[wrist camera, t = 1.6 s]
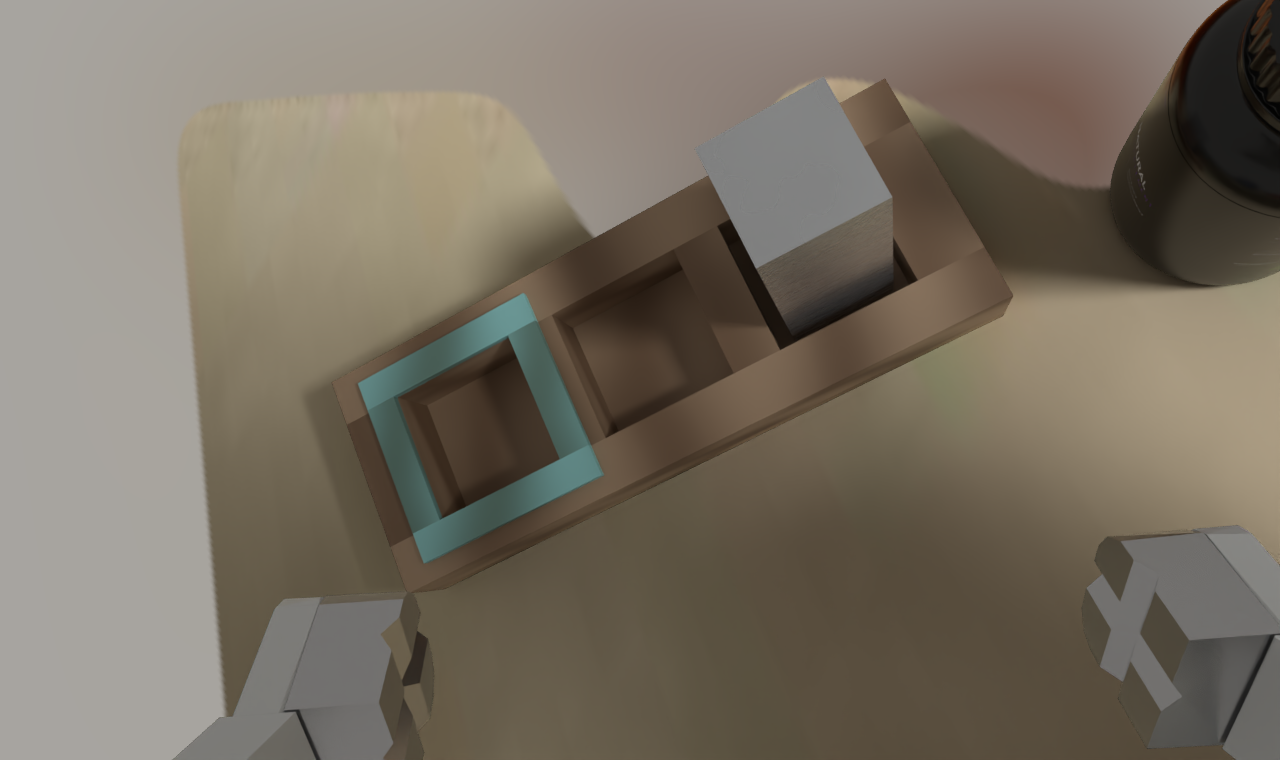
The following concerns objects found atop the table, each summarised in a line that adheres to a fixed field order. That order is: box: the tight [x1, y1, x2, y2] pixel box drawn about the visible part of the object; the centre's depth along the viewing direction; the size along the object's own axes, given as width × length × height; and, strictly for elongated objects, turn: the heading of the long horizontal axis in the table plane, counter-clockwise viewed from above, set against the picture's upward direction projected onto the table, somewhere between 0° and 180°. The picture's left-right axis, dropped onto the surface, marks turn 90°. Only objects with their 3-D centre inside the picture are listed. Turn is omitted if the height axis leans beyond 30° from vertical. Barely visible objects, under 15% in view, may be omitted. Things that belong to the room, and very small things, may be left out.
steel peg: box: [695, 77, 894, 341], centre depth 30 cm, size 4×4×10 cm
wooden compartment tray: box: [332, 79, 1013, 593], centre depth 35 cm, size 24×9×3 cm, turn 115°
